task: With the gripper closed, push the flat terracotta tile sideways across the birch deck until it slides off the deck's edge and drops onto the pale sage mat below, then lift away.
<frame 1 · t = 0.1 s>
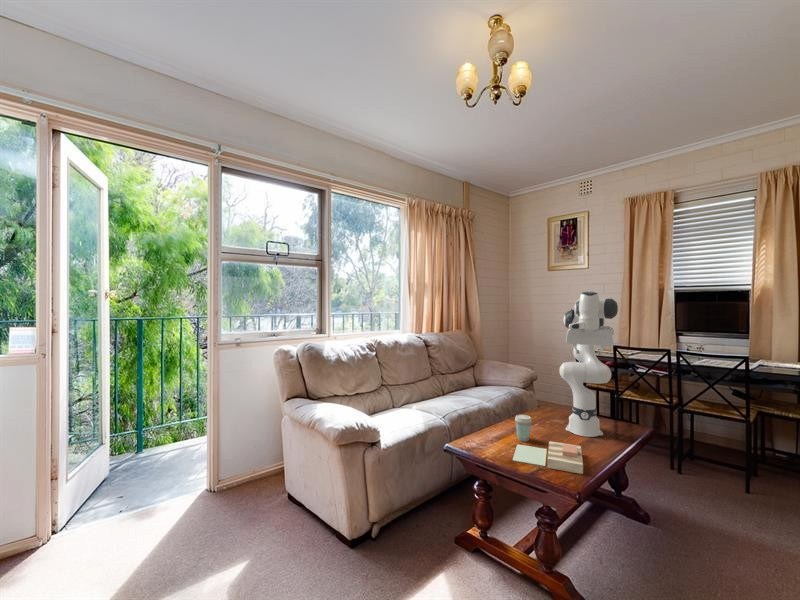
hand: (588, 354, 178), 48 cm above the table, fingers open, 8 cm apart
card: (569, 452, 169), point 4 cm above the table, touching deck
coffee cup: (523, 439, 195), on the table
deck: (564, 460, 170), on the table
mat: (530, 454, 176), on the table
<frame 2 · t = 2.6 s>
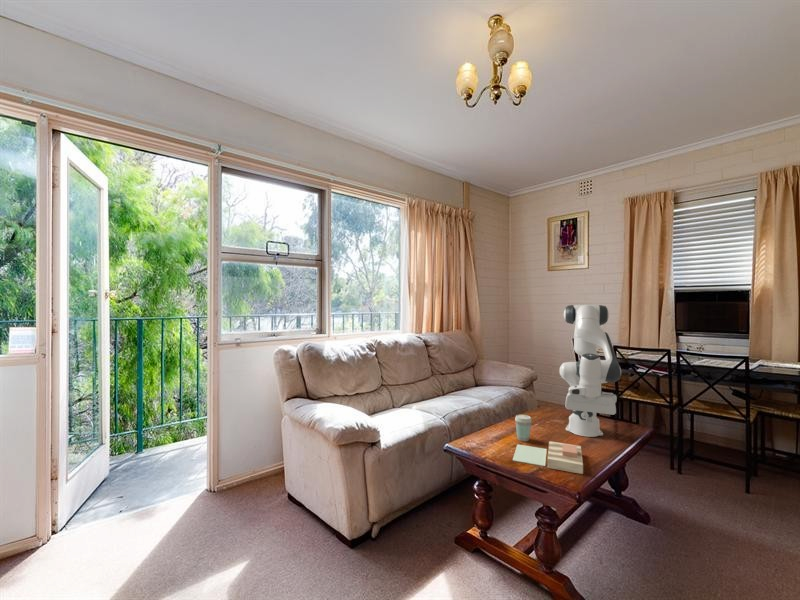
hand: (589, 421, 166), 20 cm above the table, fingers closed
nothing on the table moved.
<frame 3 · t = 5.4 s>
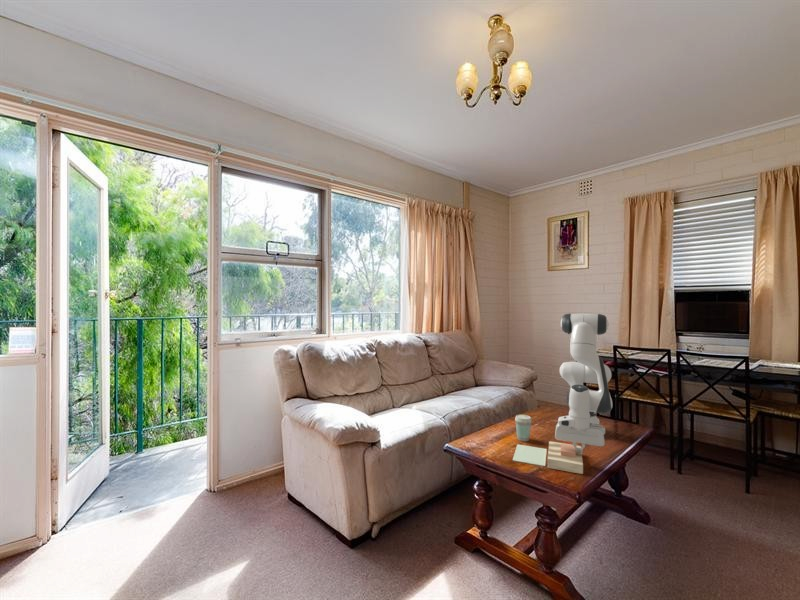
hand: (578, 452, 168), 5 cm above the table, fingers closed
card: (567, 452, 169), point 4 cm above the table, touching deck, gripper
everything else where it was.
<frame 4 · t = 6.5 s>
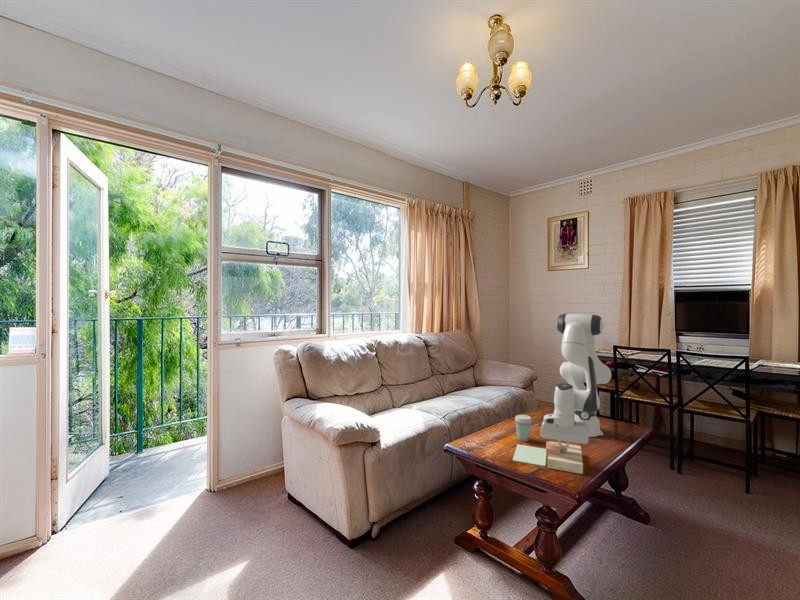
hand: (563, 449, 170), 5 cm above the table, fingers closed
card: (553, 450, 172), point 4 cm above the table, touching gripper
everything else where it was.
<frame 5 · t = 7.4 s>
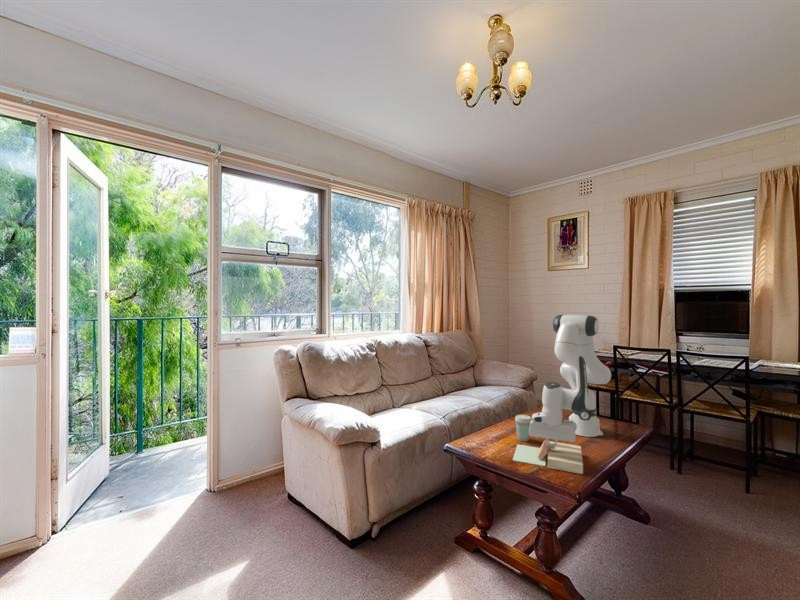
hand: (551, 447, 172), 5 cm above the table, fingers closed
card: (545, 451, 173), point 3 cm above the table, tilted 65°, touching mat
everything else where it was.
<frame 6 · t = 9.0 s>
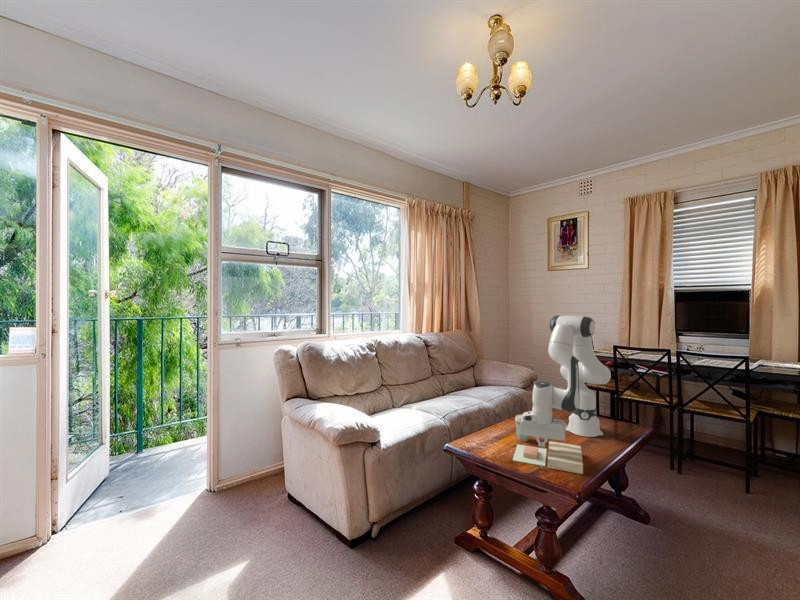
hand: (541, 446, 174), 5 cm above the table, fingers closed
card: (530, 450, 176), point 2 cm above the table, tilted 180°, touching mat
everything else where it was.
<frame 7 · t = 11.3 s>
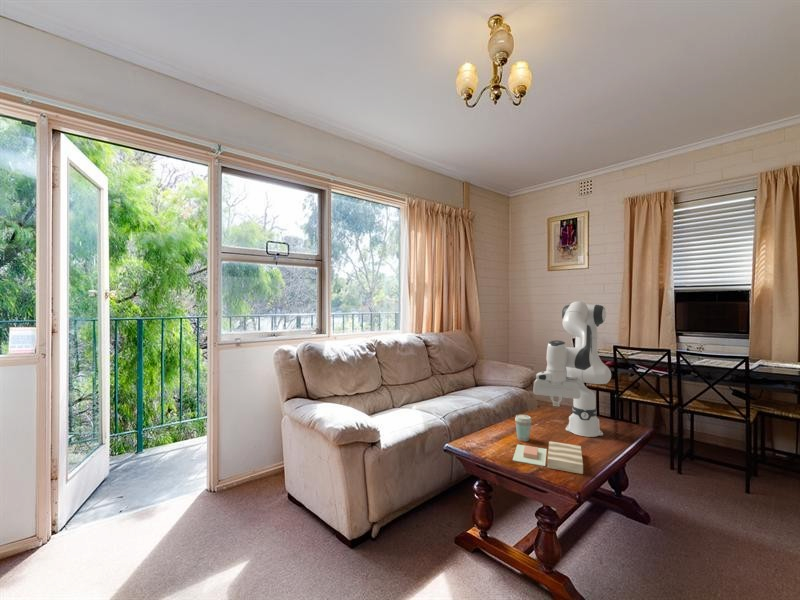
hand: (556, 405, 172), 25 cm above the table, fingers closed
nothing on the table moved.
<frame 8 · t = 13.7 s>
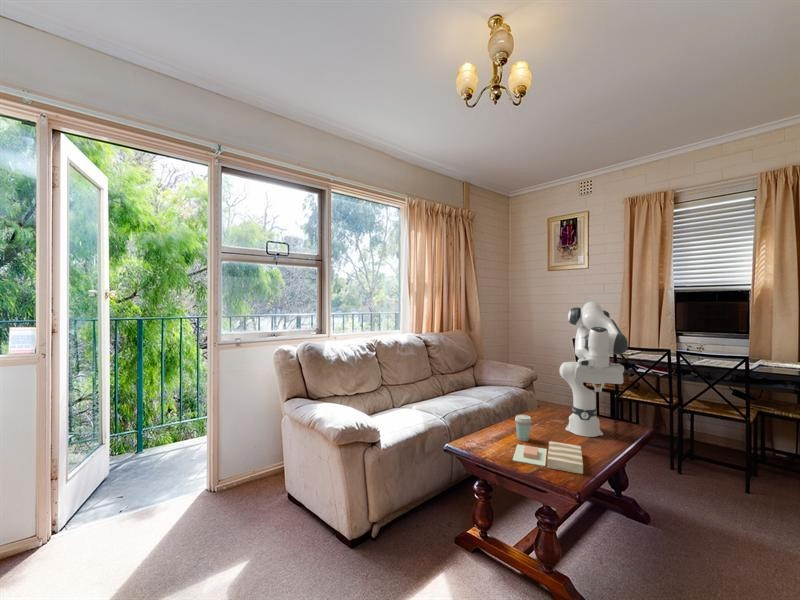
hand: (598, 391, 173), 31 cm above the table, fingers closed
nothing on the table moved.
at the end: card point 2.3 cm above the table; card inside the target area on the mat (0.3 cm from its centre), point 2.3 cm above the mat's base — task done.
